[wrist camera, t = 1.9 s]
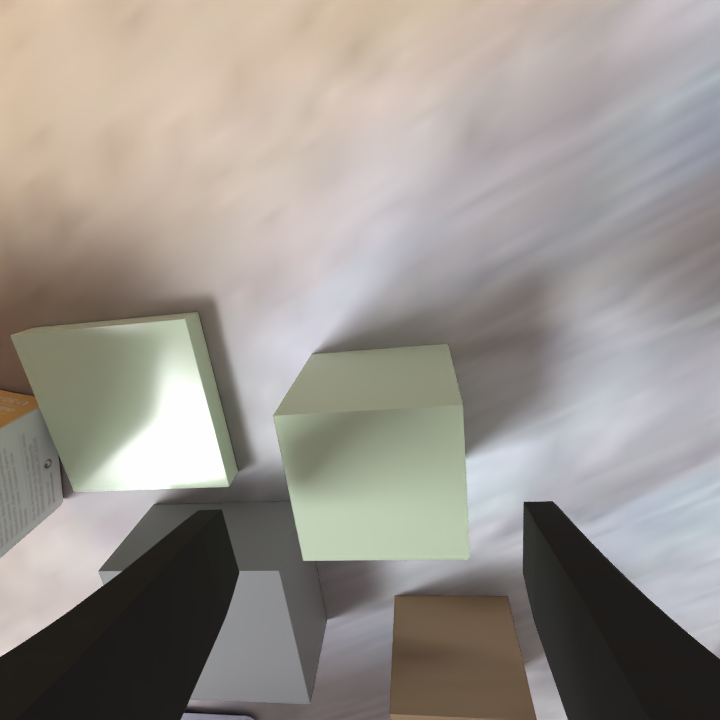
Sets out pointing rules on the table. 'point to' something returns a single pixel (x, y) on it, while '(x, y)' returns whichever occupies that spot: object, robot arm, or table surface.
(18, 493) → the small box
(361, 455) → the sage green block
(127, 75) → the table surface
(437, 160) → the table surface
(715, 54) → the table surface
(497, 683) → the walnut block
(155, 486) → the sage green tile
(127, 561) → the charcoal base block
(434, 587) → the table surface
